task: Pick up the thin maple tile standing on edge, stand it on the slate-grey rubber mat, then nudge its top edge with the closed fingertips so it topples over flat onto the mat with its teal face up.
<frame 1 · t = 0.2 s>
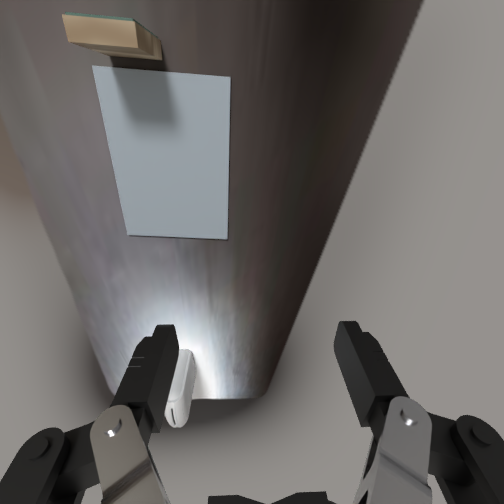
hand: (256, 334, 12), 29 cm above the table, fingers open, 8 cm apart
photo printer: (186, 361, 58), on the table
tile: (134, 48, 29), on the table
mat: (172, 166, 36), on the table
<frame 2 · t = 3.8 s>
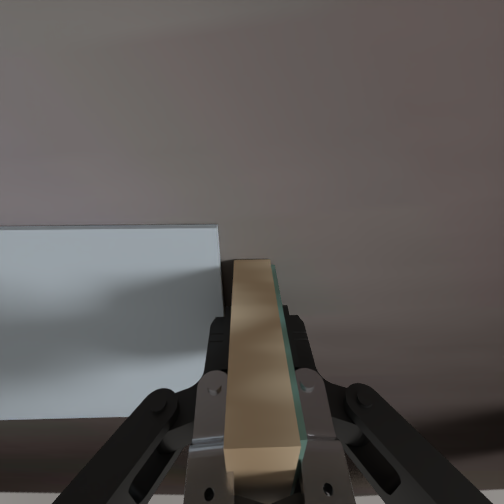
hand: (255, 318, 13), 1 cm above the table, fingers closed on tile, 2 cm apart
tile: (251, 304, 14), on the table, touching gripper
mat: (48, 344, 16), on the table
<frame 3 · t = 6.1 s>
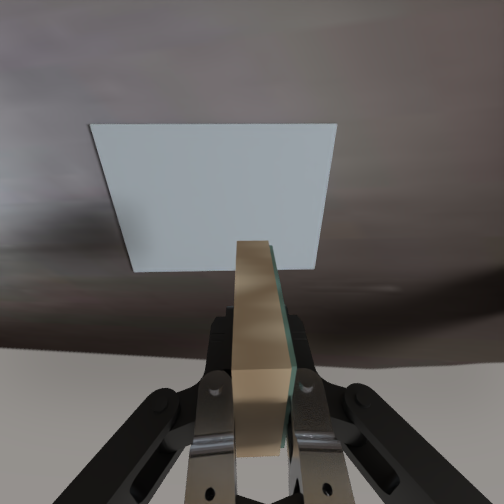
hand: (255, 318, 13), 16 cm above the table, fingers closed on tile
tile: (252, 282, 16), point 13 cm above the table, touching gripper
mat: (221, 207, 27), on the table
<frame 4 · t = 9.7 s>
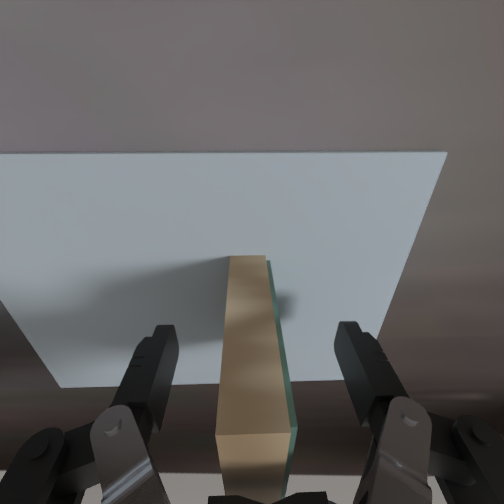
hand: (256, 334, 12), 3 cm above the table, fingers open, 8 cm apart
tile: (248, 299, 14), resting on mat
mat: (203, 297, 15), on the table
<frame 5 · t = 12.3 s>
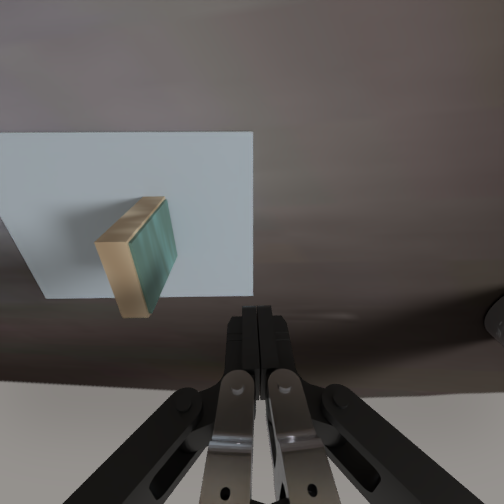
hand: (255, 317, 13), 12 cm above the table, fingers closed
tile: (160, 228, 23), resting on mat
mat: (133, 227, 23), on the table
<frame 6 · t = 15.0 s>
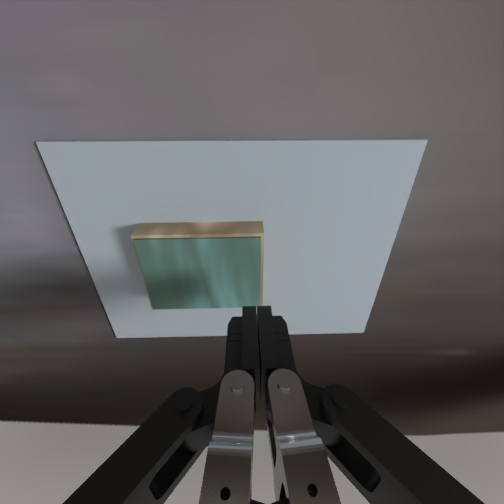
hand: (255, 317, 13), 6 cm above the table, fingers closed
tile: (262, 265, 17), point 1 cm above the table, tilted 90°, touching mat
mat: (239, 257, 19), on the table
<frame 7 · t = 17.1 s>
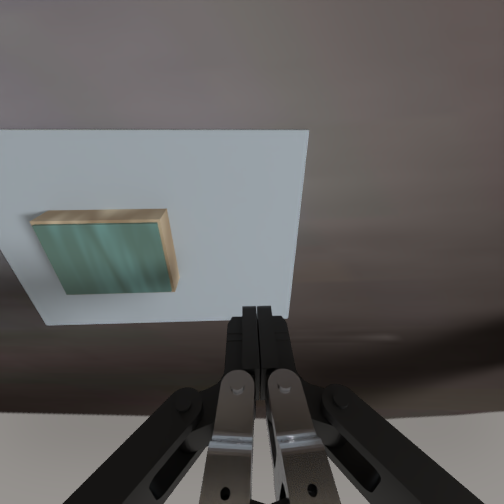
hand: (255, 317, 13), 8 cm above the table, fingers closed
tile: (171, 252, 18), point 1 cm above the table, tilted 90°, touching mat
mat: (153, 244, 19), on the table
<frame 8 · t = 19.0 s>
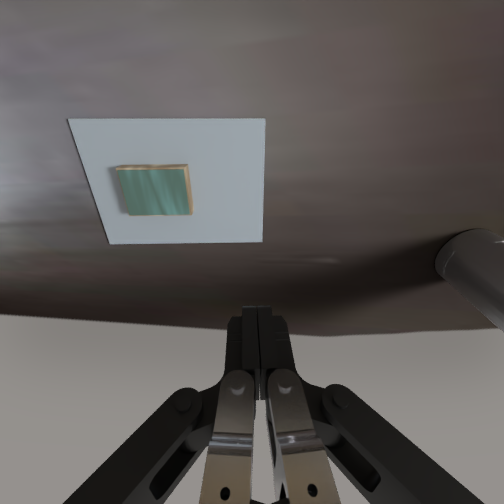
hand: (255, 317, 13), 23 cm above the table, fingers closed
tile: (189, 190, 32), point 1 cm above the table, tilted 90°, touching mat
mat: (179, 187, 33), on the table
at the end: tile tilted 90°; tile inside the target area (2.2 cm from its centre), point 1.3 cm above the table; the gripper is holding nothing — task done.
